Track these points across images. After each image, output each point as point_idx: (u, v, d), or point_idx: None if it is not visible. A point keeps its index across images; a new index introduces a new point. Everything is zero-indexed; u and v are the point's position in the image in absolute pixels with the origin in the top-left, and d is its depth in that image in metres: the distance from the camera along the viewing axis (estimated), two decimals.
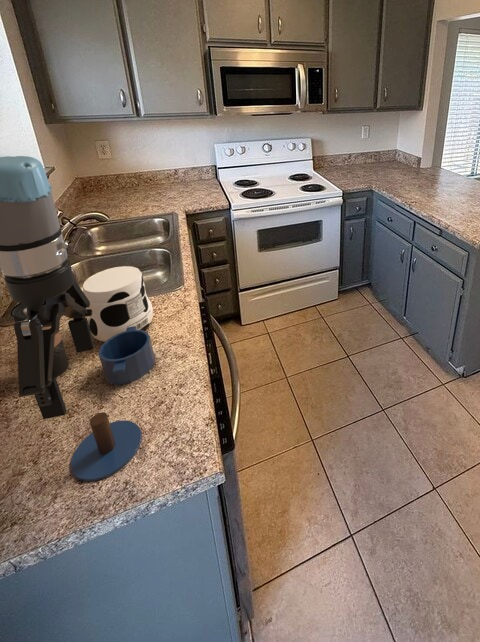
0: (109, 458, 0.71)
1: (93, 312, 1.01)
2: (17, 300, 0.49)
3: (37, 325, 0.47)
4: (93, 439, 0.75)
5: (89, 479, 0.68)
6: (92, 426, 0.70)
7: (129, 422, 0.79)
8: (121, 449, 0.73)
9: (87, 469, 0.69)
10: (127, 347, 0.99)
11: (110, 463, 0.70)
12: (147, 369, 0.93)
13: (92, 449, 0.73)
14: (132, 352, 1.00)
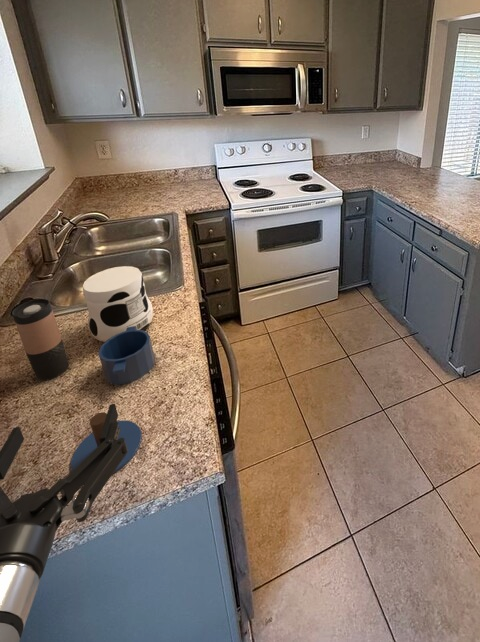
0: None
1: (93, 312, 1.01)
2: None
3: None
4: (93, 439, 0.75)
5: None
6: (92, 426, 0.70)
7: (129, 422, 0.79)
8: None
9: None
10: (127, 347, 0.99)
11: None
12: (147, 369, 0.93)
13: (92, 449, 0.73)
14: (132, 352, 1.00)
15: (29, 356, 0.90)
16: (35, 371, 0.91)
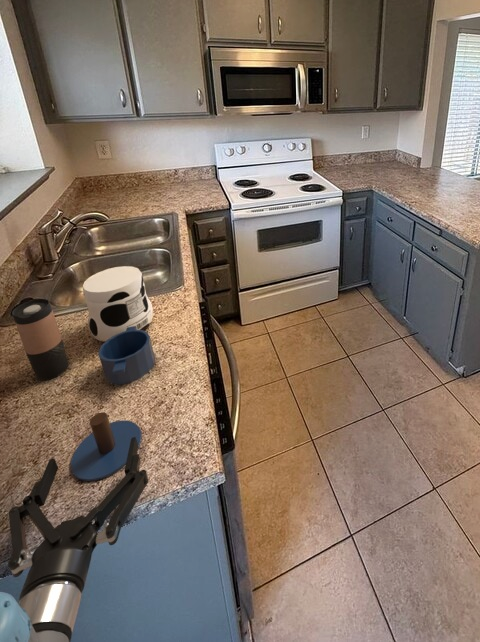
0: (109, 458, 0.71)
1: (93, 312, 1.01)
2: None
3: None
4: (93, 439, 0.75)
5: (89, 479, 0.68)
6: (92, 426, 0.70)
7: (129, 422, 0.79)
8: (121, 449, 0.73)
9: (87, 469, 0.69)
10: (127, 347, 0.99)
11: (110, 463, 0.70)
12: (147, 369, 0.93)
13: (92, 449, 0.73)
14: (132, 352, 1.00)
15: (29, 356, 0.90)
16: (35, 371, 0.91)
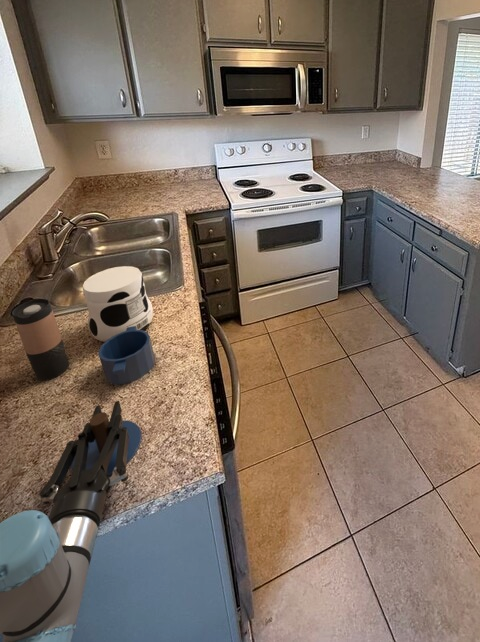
0: None
1: (93, 312, 1.01)
2: (52, 507, 0.57)
3: None
4: None
5: None
6: (92, 426, 0.70)
7: (128, 422, 0.79)
8: None
9: (87, 469, 0.69)
10: (127, 347, 0.99)
11: (110, 463, 0.70)
12: (147, 369, 0.93)
13: (92, 449, 0.73)
14: (132, 352, 1.00)
15: (29, 356, 0.90)
16: (35, 371, 0.91)
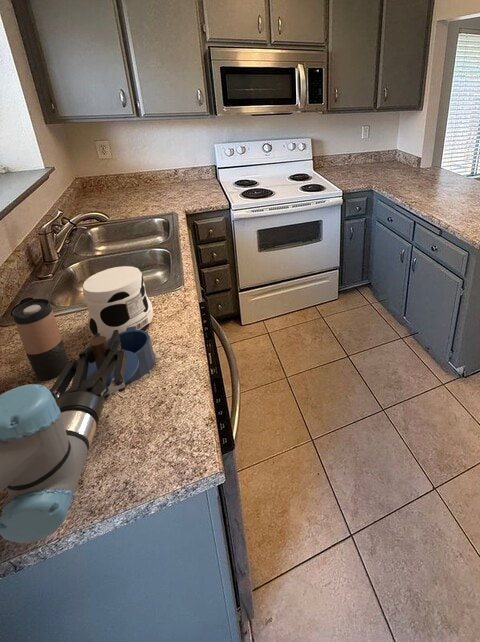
0: (108, 379, 0.75)
1: (93, 312, 1.01)
2: None
3: None
4: (93, 364, 0.79)
5: None
6: (92, 346, 0.74)
7: (127, 352, 0.83)
8: None
9: None
10: (127, 347, 0.99)
11: (108, 382, 0.75)
12: (147, 369, 0.93)
13: (92, 372, 0.77)
14: None
15: (29, 356, 0.90)
16: (35, 371, 0.91)
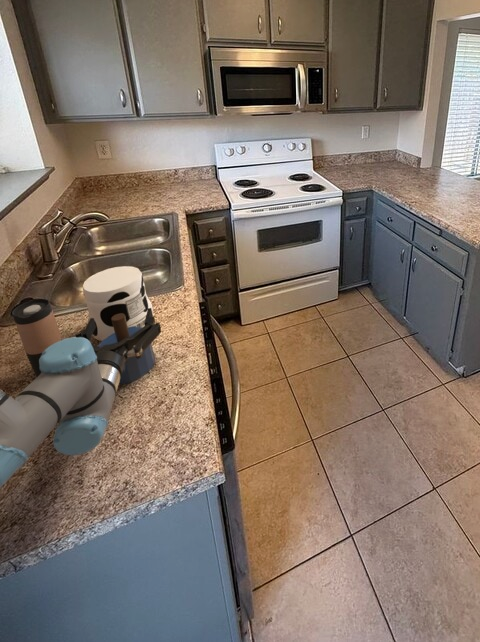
0: None
1: (93, 312, 1.01)
2: None
3: None
4: (113, 338, 0.94)
5: None
6: (113, 321, 0.89)
7: None
8: None
9: None
10: None
11: None
12: (147, 369, 0.93)
13: (112, 343, 0.92)
14: None
15: (29, 356, 0.90)
16: (35, 371, 0.91)
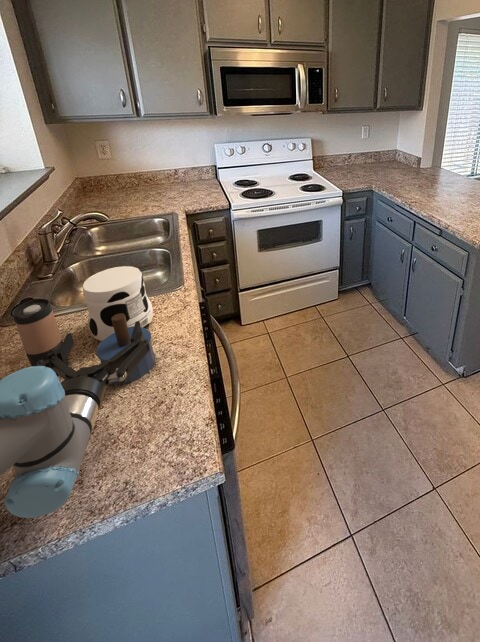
0: None
1: (93, 312, 1.01)
2: None
3: None
4: (113, 338, 0.94)
5: None
6: (113, 321, 0.89)
7: (141, 328, 0.98)
8: None
9: (109, 354, 0.89)
10: None
11: None
12: (147, 369, 0.93)
13: (112, 343, 0.92)
14: None
15: (29, 356, 0.90)
16: None
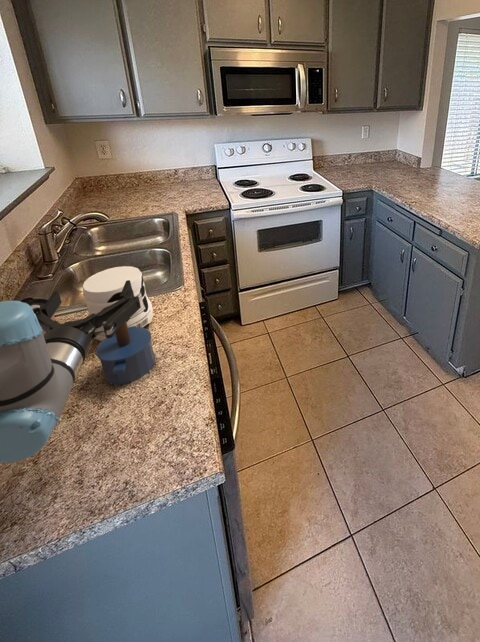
0: (127, 348, 0.91)
1: (93, 312, 1.01)
2: None
3: None
4: (113, 338, 0.94)
5: (111, 360, 0.87)
6: None
7: (141, 328, 0.98)
8: (135, 343, 0.92)
9: (109, 354, 0.89)
10: None
11: (127, 351, 0.90)
12: (147, 369, 0.93)
13: (112, 343, 0.92)
14: None
15: None
16: None
